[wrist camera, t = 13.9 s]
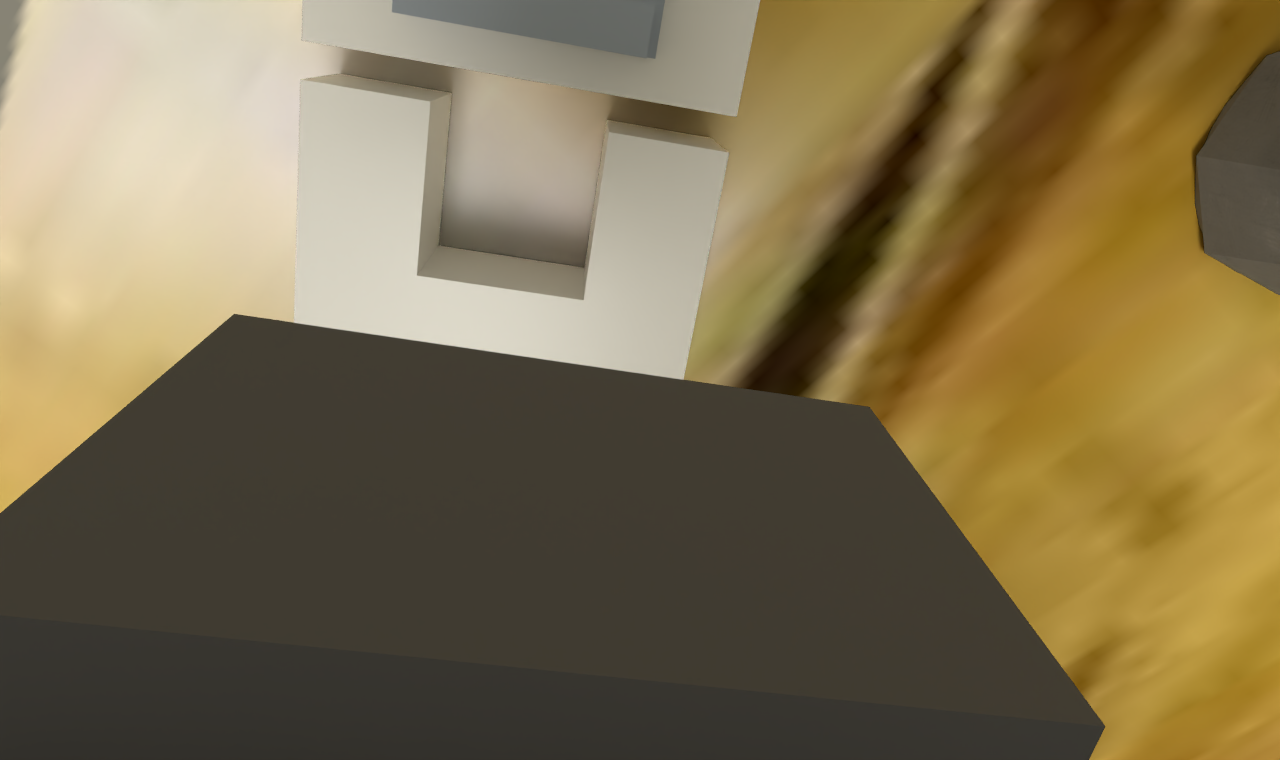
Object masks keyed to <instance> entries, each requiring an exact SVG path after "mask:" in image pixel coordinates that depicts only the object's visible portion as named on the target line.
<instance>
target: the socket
mask: <svg viewBox="0 0 1280 760" xmlns="http://www.w3.org/2000/svg"><path fill="white" fill-rule="evenodd" d="M759 4H760V0H665V3H664V9H663V15H662V21H661V27H660V33H659V39H658V45H657V52H656V58H655V59H653V58H641V57H636V56H630V55H625V54H619V53H614V52H608V51H603V50H597V49H592V48H586V47H581V46H575V45H570V44H564V43H559V42H553V41H548V40H542V39H537V38H531V37H526V36H520V35H515V34H509V33H504V32H498V31H493V30H487V29H482V28H476V27H471V26H465V25H460V24H454V23H449V22H443V21H438V20H432V19H426V18H421V17H415V16H410V15H404V14H399V13H393V12H392V0H303V4H302V41H307V42H313V43H319V44H324V45H330V46H336V47H342V48H347V49H353V50H359V51H364V52H370V53H376V54H381V55H387V56H393V57H398V58H404V59H410V60H415V61H421V62H427V63H432V64H438V65H444V66H450V67H455V68H461V69H467V70H472V71H478V72H484V73H489V74H495V75H501V76H506V77H512V78H518V79H523V80H529V81H535V82H540V83H546V84H552V85H557V86H563V87H569V88H575V89H580V90H586V91H592V92H597V93H603V94H609V95H614V96H620V97H626V98H631V99H637V100H643V101H648V102H654V103H660V104H665V105H671V106H677V107H682V108H688V109H694V110H700V111H705V112H711V113H717V114H722V115H728V116H734V117H737V113H738V108H739V103H740V98H741V93H742V88H743V83H744V78H745V73H746V68H747V63H748V58H749V53H750V48H751V43H752V38H753V34H754V29H755V24H756V19H757V14H758V9H759ZM451 99H452V93H449V92H443V91H438V90H432V89H426V88H420V87H414V86H409V85H403V84H397V83H391V82H385V81H380V80H374V79H368V78H362V77H356V76H351V75H345V74H334V75H327V76H320V77H314V78H307V79H300V115H299V153H298V190H297V227H296V264H295V301H294V323H299V324H306V325H313V326H320V327H326V328H333V329H340V330H347V331H354V332H361V333H367V334H374V335H381V336H388V337H395V338H402V339H408V340H415V341H422V342H429V343H436V344H443V345H449V346H456V347H463V348H470V349H477V350H484V351H490V352H497V353H504V354H511V355H518V356H524V357H531V358H538V359H545V360H552V361H559V362H565V363H572V364H579V365H586V366H593V367H600V368H606V369H613V370H620V371H627V372H634V373H641V374H647V375H654V376H661V377H668V378H675V379H682V380H683V379H684V374H685V369H686V364H687V360H688V355H689V350H690V345H691V340H692V335H693V330H694V325H695V320H696V315H697V310H698V305H699V300H700V295H701V290H702V285H703V280H704V276H705V271H706V266H707V261H708V256H709V251H710V246H711V241H712V236H713V231H714V226H715V221H716V216H717V211H718V206H719V201H720V197H721V192H722V187H723V182H724V177H725V172H726V167H727V162H728V157H729V152H728V151H727V150H725V149H724V148H723V147H722V146H721V145H719V144H718V143H717V142H716V141H715V140H713V139H712V138H710V137H704V136H698V135H692V134H687V133H681V132H675V131H669V130H663V129H658V128H652V127H646V126H640V125H635V124H629V123H623V122H617V121H611V120H606V127H605V134H604V140H603V147H602V154H601V160H600V167H599V174H598V180H597V187H596V194H595V200H594V207H593V214H592V220H591V227H590V234H589V240H588V247H587V253H586V260H585V267H584V268H583V267H577V266H570V265H563V264H557V263H550V262H544V261H537V260H531V259H524V258H518V257H511V256H505V255H498V254H491V253H485V252H478V251H472V250H465V249H459V248H452V247H446V246H439V237H440V225H441V214H442V202H443V191H444V179H445V168H446V156H447V145H448V133H449V122H450V111H451Z"/></svg>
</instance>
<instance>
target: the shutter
mask: <svg viewBox="0 0 1280 760" xmlns="http://www.w3.org/2000/svg"><path fill="white" fill-rule="evenodd" d="M664 3H665V0H392V12H393V13H399V14H404V15H410V16H415V17H421V18H426V19H432V20H438V21H443V22H449V23H454V24H460V25H465V26H471V27H476V28H482V29H487V30H493V31H498V32H504V33H509V34H515V35H520V36H526V37H531V38H537V39H542V40H548V41H553V42H559V43H564V44H570V45H575V46H581V47H586V48H592V49H597V50H603V51H608V52H614V53H619V54H625V55H630V56H636V57H641V58H653V59H655V58H656V52H657V45H658V39H659V33H660V27H661V21H662V15H663V9H664Z"/></svg>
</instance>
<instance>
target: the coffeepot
mask: <svg viewBox="0 0 1280 760" xmlns="http://www.w3.org/2000/svg"><path fill="white" fill-rule="evenodd" d="M1195 206H1196V212H1197V217H1198V222H1199V226H1200V228H1201V230H1202V233H1203V240H1204V252H1205V253H1206V254H1207V255H1209V256H1211V257H1213V258H1214V259H1216V260H1218V261H1220V262H1221V263H1223V264H1225V265H1226V266H1228V267H1230V268H1231V269H1233V270H1234V271H1236V272H1238V273H1240V274H1243V275H1244V276H1246V277H1248V278H1250V279H1251V280H1253V281H1255V282H1257V283H1259V284H1260V285H1262V286H1264V287H1266V288H1267V289H1269V290H1271V291H1273V292H1274V293H1276V294H1278V295H1280V51H1279V52H1276V53H1273V54H1270V55H1267V56H1266V57H1265V58H1264V59H1263V61H1262V62H1261V63H1260V64H1259V65H1258V66H1257V68H1256V69H1255V70H1254V71H1253V72H1252V74H1251V75H1250V76H1249V77H1248V78H1247V79H1246V81H1245V82H1244V83H1243V84H1242V85H1241V87H1240V88H1239V89H1238V90H1237V92H1236V93H1235V94H1234V95H1233V96H1232V98H1231V99H1230V100H1229V101H1228V103H1227V104H1226V105H1225V106H1224V108H1223V110H1222V111H1221V113H1220V115H1219V116H1218V118H1217V120H1216V122H1215V123H1214V125H1213V127H1212V128H1211V130H1210V132H1209V135H1208V138H1207V140H1206V143H1205V144H1204V146H1203V147H1202V149H1201V150H1200V151H1199V153H1198V154H1197V156H1196V177H1195Z"/></svg>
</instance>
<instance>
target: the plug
mask: <svg viewBox="0 0 1280 760" xmlns="http://www.w3.org/2000/svg"><path fill="white" fill-rule="evenodd" d="M1104 728H1105V725H1104V724H1103V723H1102V721H1101V720H1100V718H1099V717H1098V716H1097V714H1096V713H1095V712H1094V710H1093V709H1092V708H1091V706H1090V705H1089V704H1088V702H1087V701H1086V700H1085V698H1084V697H1083V695H1082V694H1081V693H1080V691H1079V690H1078V689H1077V687H1076V686H1075V685H1074V683H1073V682H1072V681H1071V679H1070V678H1069V677H1068V675H1067V674H1066V672H1065V671H1064V670H1063V668H1062V667H1061V666H1060V664H1059V663H1058V662H1057V660H1056V659H1055V658H1054V656H1053V655H1052V654H1051V652H1050V651H1049V649H1048V648H1047V647H1046V645H1045V644H1044V643H1043V641H1042V640H1041V639H1040V637H1039V636H1038V635H1037V633H1036V632H1035V631H1034V629H1033V628H1032V626H1031V625H1030V624H1029V622H1028V621H1027V620H1026V618H1025V617H1024V616H1023V614H1022V613H1021V612H1020V610H1019V609H1018V608H1017V606H1016V605H1015V603H1014V602H1013V601H1012V599H1011V598H1010V597H1009V595H1008V594H1007V593H1006V591H1005V590H1004V589H1003V587H1002V586H1001V585H1000V583H999V582H998V580H997V579H996V578H995V576H994V575H993V574H992V572H991V571H990V570H989V568H988V567H987V566H986V564H985V563H984V562H983V560H982V559H981V557H980V556H979V555H978V553H977V552H976V551H975V549H974V548H973V547H972V545H971V544H970V543H969V541H968V540H967V539H966V537H965V536H964V534H963V533H962V532H961V530H960V529H959V528H958V526H957V525H956V524H955V522H954V521H953V520H952V518H951V517H950V516H949V514H948V513H947V511H946V510H945V509H944V507H943V506H942V505H941V503H940V502H939V501H938V499H937V498H936V497H935V495H934V494H933V493H932V491H931V490H930V488H929V487H928V486H927V484H926V483H925V482H924V480H923V479H922V478H921V476H920V475H919V474H918V472H917V471H916V470H915V468H914V467H913V465H912V464H911V463H910V461H909V460H908V459H907V457H906V456H905V455H904V453H903V452H902V451H901V449H900V448H899V447H898V445H897V444H896V442H895V441H894V440H893V438H892V437H891V436H890V434H889V433H888V432H887V430H886V429H885V428H884V426H883V425H882V424H881V422H880V421H879V419H878V418H877V417H876V415H875V414H874V413H873V411H872V410H871V409H870V407H866V406H859V405H852V404H846V403H839V402H832V401H825V400H818V399H811V398H805V397H798V396H791V395H784V394H777V393H770V392H764V391H757V390H750V389H743V388H736V387H729V386H723V385H716V384H709V383H702V382H695V381H688V380H682V379H675V378H668V377H661V376H654V375H647V374H641V373H634V372H627V371H620V370H613V369H606V368H600V367H593V366H586V365H579V364H572V363H565V362H559V361H552V360H545V359H538V358H531V357H524V356H518V355H511V354H504V353H497V352H490V351H484V350H477V349H470V348H463V347H456V346H449V345H443V344H436V343H429V342H422V341H415V340H408V339H402V338H395V337H388V336H381V335H374V334H367V333H361V332H354V331H347V330H340V329H333V328H326V327H320V326H313V325H306V324H299V323H292V322H285V321H279V320H272V319H265V318H258V317H251V316H244V315H238V314H234V315H232V316H231V317H230V318H229V319H228V320H227V321H225V322H224V323H223V324H222V325H221V326H219V327H218V328H217V329H216V330H215V331H214V332H212V333H211V334H210V335H209V336H208V337H207V338H205V339H204V340H203V341H202V342H201V343H200V344H198V345H197V346H196V347H195V348H194V349H193V350H191V351H190V352H189V353H188V354H187V355H185V356H184V357H183V358H182V359H181V360H180V361H178V362H177V363H176V364H175V365H174V366H173V367H171V368H170V369H169V370H168V371H167V372H166V373H164V374H163V375H162V376H161V377H160V378H158V379H157V380H156V381H155V382H154V383H153V384H151V385H150V386H149V387H148V388H147V389H146V390H144V391H143V392H142V393H141V394H140V395H139V396H137V397H136V398H135V399H134V400H133V401H131V402H130V403H129V404H128V405H127V406H126V407H124V408H123V409H122V410H121V411H120V412H119V413H117V414H116V415H115V416H114V417H113V418H112V419H110V420H109V421H108V422H107V423H106V424H105V425H103V426H102V427H101V428H100V429H99V430H97V431H96V432H95V433H94V434H93V435H92V436H90V437H89V438H88V439H87V440H86V441H85V442H83V443H82V444H81V445H80V446H79V447H78V448H76V449H75V450H74V451H73V452H72V453H70V454H69V455H68V456H67V457H66V458H65V459H63V460H62V461H61V462H60V463H59V464H58V465H56V466H55V467H54V468H53V469H52V470H51V471H49V472H48V473H47V474H46V475H45V476H43V477H42V478H41V479H40V480H39V481H38V482H36V483H35V484H34V485H33V486H32V487H31V488H29V489H28V490H27V491H26V492H25V493H24V494H22V495H21V496H20V497H19V498H18V499H17V500H15V501H14V502H13V503H12V504H11V505H9V506H8V507H7V508H6V509H5V510H4V511H2V512H1V513H0V760H1089V758H1090V756H1091V754H1092V752H1093V750H1094V748H1095V746H1096V744H1097V742H1098V740H1099V738H1100V736H1101V734H1102V732H1103V730H1104Z"/></svg>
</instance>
